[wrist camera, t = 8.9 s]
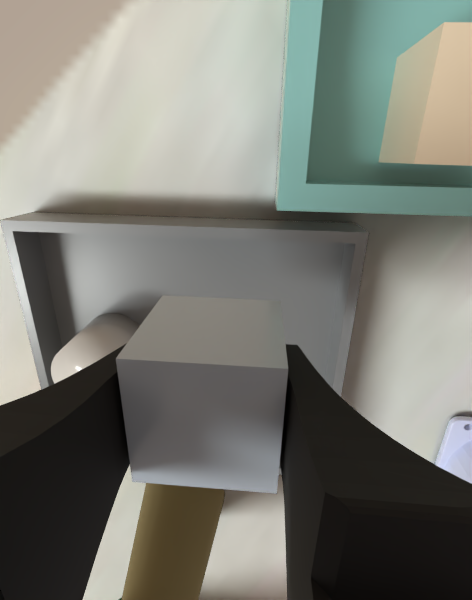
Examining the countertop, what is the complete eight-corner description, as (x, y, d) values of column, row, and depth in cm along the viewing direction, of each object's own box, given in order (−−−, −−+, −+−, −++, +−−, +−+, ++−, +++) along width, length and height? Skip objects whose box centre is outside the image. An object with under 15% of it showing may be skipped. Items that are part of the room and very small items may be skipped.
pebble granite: (147, 315, 20) (124, 346, 16) (152, 373, 21) (132, 412, 18) (79, 311, 20) (43, 341, 17) (89, 369, 21) (58, 407, 18)
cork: (150, 515, 27) (82, 727, 17) (142, 459, 25) (58, 667, 15) (225, 521, 27) (202, 742, 17) (224, 465, 24) (196, 682, 14)
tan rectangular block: (498, 58, 14) (583, 23, 10) (469, 165, 15) (533, 167, 12) (397, 57, 14) (444, 22, 10) (378, 162, 16) (413, 163, 12)
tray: (355, 222, 17) (369, 232, 15) (320, 446, 23) (327, 478, 21) (32, 212, 18) (-1, 220, 16) (77, 428, 24) (58, 457, 22)
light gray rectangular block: (280, 300, 11) (288, 368, 8) (273, 397, 13) (276, 493, 9) (163, 295, 12) (115, 358, 8) (169, 391, 13) (132, 481, 9)
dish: (702, -200, 11) (845, -316, 8) (551, 209, 16) (609, 220, 14) (298, -184, 12) (308, -285, 9) (274, 201, 17) (276, 210, 14)
